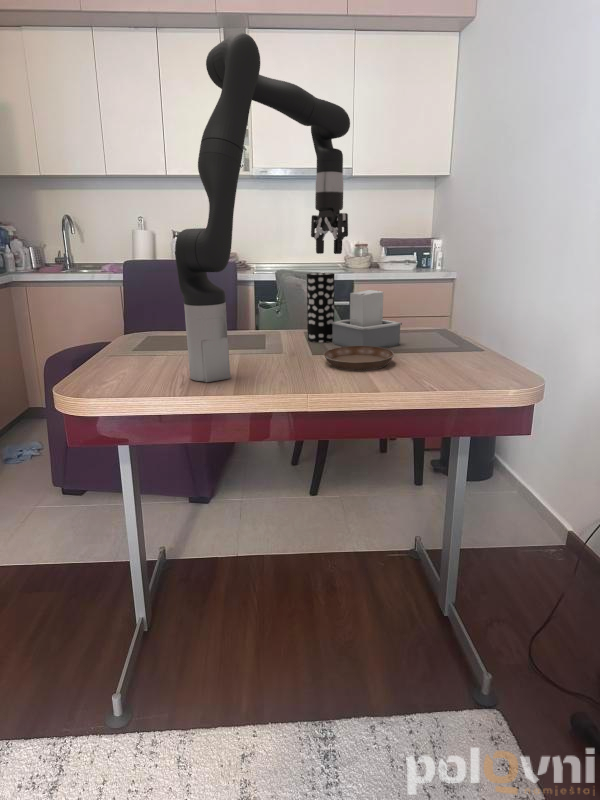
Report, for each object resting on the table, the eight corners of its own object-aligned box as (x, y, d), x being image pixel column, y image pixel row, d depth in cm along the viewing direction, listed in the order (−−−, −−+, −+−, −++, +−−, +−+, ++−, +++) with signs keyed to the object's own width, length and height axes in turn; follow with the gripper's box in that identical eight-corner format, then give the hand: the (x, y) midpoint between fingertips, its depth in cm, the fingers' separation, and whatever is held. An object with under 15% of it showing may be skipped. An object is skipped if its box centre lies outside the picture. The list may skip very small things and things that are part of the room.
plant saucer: (345, 376, 125) (345, 364, 124) (311, 361, 140) (311, 349, 139) (407, 367, 132) (408, 355, 131) (369, 353, 147) (369, 343, 146)
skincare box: (368, 339, 163) (369, 289, 158) (383, 342, 158) (384, 291, 154) (348, 342, 158) (349, 291, 153) (362, 345, 153) (363, 293, 149)
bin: (401, 345, 157) (401, 322, 155) (362, 351, 149) (363, 328, 147) (368, 337, 168) (368, 316, 166) (331, 343, 161) (331, 321, 159)
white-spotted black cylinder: (334, 342, 162) (335, 274, 156) (307, 342, 162) (306, 275, 156) (333, 337, 170) (333, 272, 164) (307, 337, 170) (306, 273, 164)
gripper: (356, 190, 141) (355, 254, 145) (325, 194, 152) (325, 253, 157) (333, 188, 137) (332, 254, 141) (303, 193, 148) (303, 253, 153)
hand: (328, 253), depth 149 cm, fingers open, 8 cm apart
